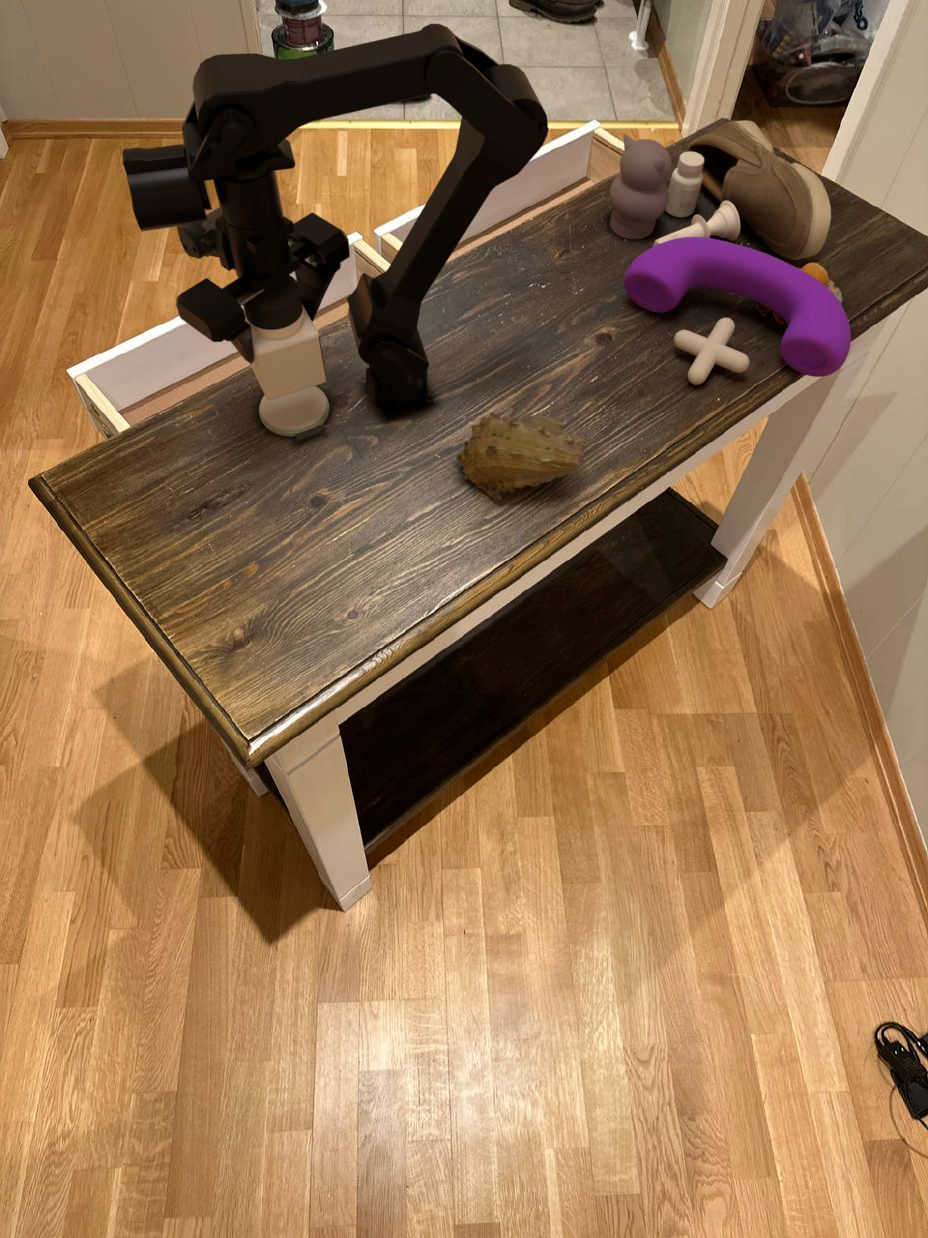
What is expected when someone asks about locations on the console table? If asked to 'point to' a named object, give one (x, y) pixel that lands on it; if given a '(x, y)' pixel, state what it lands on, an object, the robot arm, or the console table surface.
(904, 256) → the console table surface
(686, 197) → the pill bottle
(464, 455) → the seashell
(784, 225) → the slip on shoe
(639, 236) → the cat figurine
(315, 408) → the scale
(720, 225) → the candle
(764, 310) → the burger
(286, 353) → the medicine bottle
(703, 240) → the purple telephone handset
